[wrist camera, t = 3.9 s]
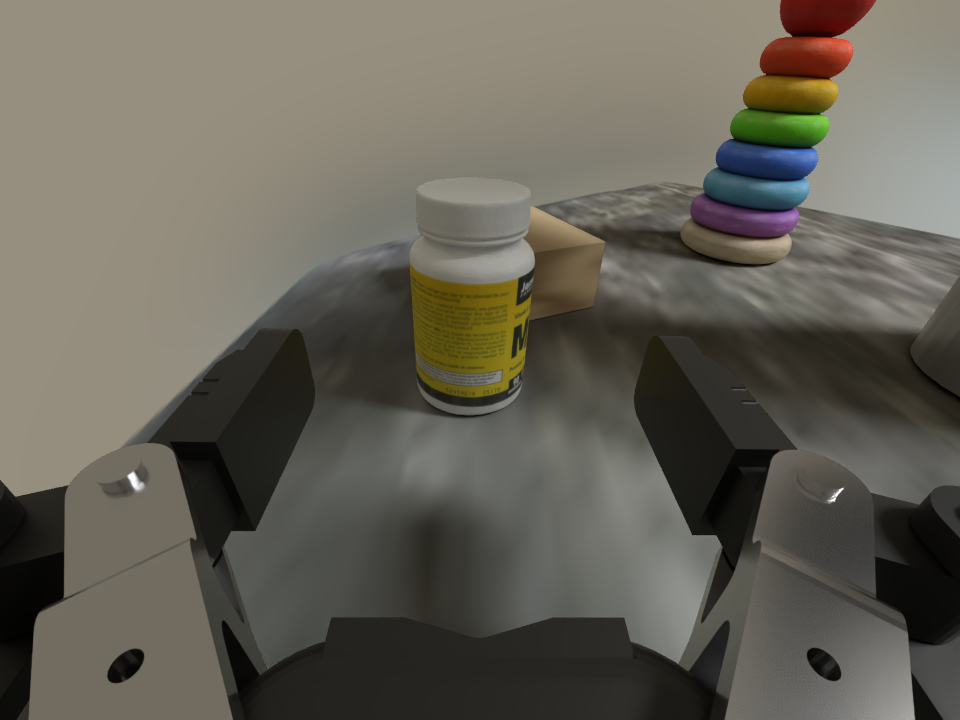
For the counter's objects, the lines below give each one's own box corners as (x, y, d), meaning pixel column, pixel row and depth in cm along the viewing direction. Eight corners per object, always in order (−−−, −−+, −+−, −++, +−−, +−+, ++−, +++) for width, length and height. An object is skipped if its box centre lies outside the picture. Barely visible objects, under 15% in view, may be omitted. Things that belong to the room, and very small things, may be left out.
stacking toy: (742, 275, 31) (888, -96, 20) (657, 241, 37) (736, -62, 26) (806, 258, 34) (961, -70, 24) (718, 229, 40) (811, -45, 29)
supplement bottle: (528, 419, 18) (553, 208, 13) (411, 419, 17) (394, 205, 13) (516, 354, 22) (532, 175, 17) (421, 354, 21) (411, 172, 17)
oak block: (525, 260, 32) (530, 205, 30) (593, 306, 26) (605, 241, 24) (423, 277, 29) (420, 217, 27) (473, 332, 23) (474, 261, 21)
